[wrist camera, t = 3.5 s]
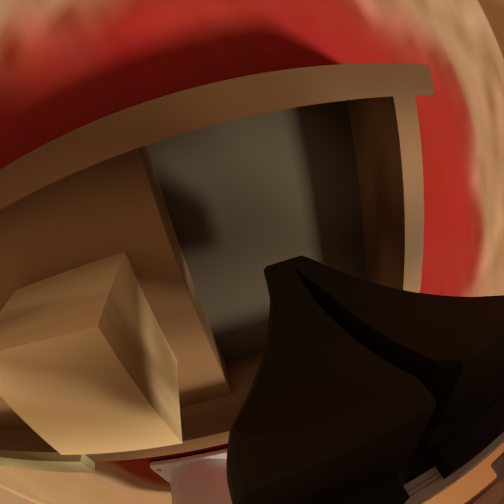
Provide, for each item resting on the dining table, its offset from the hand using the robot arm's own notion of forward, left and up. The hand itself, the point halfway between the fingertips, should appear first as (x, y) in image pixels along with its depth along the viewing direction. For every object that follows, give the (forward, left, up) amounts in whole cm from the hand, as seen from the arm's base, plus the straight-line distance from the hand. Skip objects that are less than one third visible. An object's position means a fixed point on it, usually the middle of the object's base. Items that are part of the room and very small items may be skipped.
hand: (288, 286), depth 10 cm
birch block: (0, +7, -1) cm, 7 cm away
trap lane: (0, +11, -3) cm, 12 cm away
